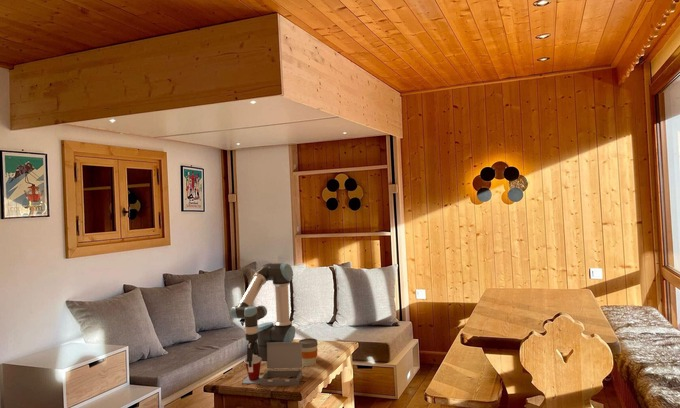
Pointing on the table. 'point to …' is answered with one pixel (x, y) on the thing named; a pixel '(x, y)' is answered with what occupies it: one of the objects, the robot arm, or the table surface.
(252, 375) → the plastic cup
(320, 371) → the table surface
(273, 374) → the case
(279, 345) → the lid
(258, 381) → the mat
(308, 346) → the reusable coffee cup
